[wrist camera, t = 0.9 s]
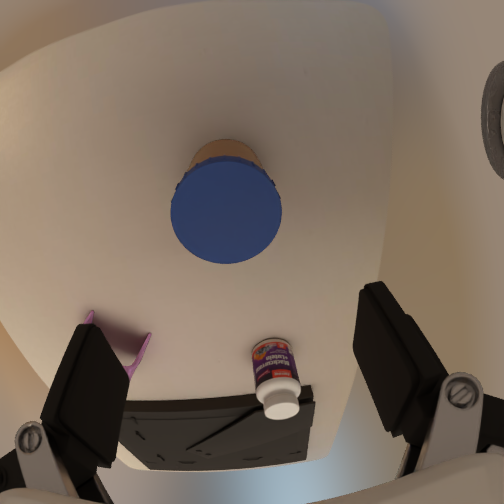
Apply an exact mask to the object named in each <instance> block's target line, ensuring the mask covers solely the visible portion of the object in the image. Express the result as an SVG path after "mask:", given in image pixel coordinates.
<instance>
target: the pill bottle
mask: <svg viewBox="0 0 504 504" xmlns="http://www.w3.org/2000/svg"><path fill="white" fill-rule="evenodd" d="M252 361H253V371H254V380H255V390H256V396H257V399H258V400H259V401H260V402H261V403H263V405H264V412H265V416H266V417H268V418H270V419H275V420H281V419H287V418H290V417H292V416H294V415H296V414H297V413H298V411H299V403H298V399H297V397H298V396H299V394H300V392H301V386H300V381H299V377H298V373H297V369H296V365H295V360H294V356H293V352H292V348H291V346H290V345H289V344H288V343H287V342H286V341H284V340H281V339H269V340H265V341H263V342H261V343H259V344H258V345H256V346H255V348H254V349H253V351H252Z"/></svg>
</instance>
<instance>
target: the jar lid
mask: <svg viewBox="0 0 504 504" xmlns="http://www.w3.org/2000/svg"><path fill="white" fill-rule="evenodd" d="M275 186H276V185H275V184H274V182H273V180H271V179H270V178H269V176H268V175H267V173H266V171H265V170H264V169H263V170H262V169H261V168H260V167H259V166H258V165H256V164H254V162H253V161H252V162H251V161H249V160H246V159H244V158H240V156H238V157H235V156H225V155H224V156H217V157H213V158H211V157H209V159H207V160H204V161H202V162H200V163H196V165H195V166H194V167H193V168H191V169H190V170H189V171H188V172H185V174H184V176H183V178H182V180H181V182H180V183H178V184H177V186H176V189H175V190H176V192H175V194H174V196H173V199H172V201H171V203H172V204H171V222H172V226H173V229H174V232H175V234H176V236H177V238H178V239H179V241H180V242H181V243H182V244H183V246H184V247H185V248H186V249H187V250H189V251H190V252H191V253H192V254H194V255H195V256H197V257H199V258H201V259H204V260H206V261H209V262H213V263H220V264H231V263H238V262H242V261H245V260H248V259H250V258H252V257H254V256H256V255H257V254H259V253H260V252H262V251H263V250H264V249H265V248H266V247H267V246H268V245H269V244H270V243H271V242H272V240H273V239H274V237H275V235H276V234H277V231H278V229H279V226H280V222H281V216H282V207H281V201H280V199H281V198H280V196H279V194H278V192H277V190H276V188H275Z"/></svg>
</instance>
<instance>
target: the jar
mask: <svg viewBox="0 0 504 504" xmlns="http://www.w3.org/2000/svg"><path fill="white" fill-rule="evenodd" d="M224 155H225V156H235V157H238V156H240V158H244V159H246V160H249V161H251V162H252V161H253V162H254V164H256V165H258V166H259V167H260V168H261V169H262V170H263V167H262V165H261V163H260V161H259V159H258V157H257V156H256V154H255V153H254V152H253V151H252V149H250V148H249V147H248V146H247V145H245V144H243V143H241V142H239V141H236V140H231V139H221V140H216V141H213V142H210V143H208V144H206V145H205V146H203V147H202V148H201V149H200V150H199V151H198V152H197V153H196V155H195V156H194V158H193V160H192V162H191V164H190V166H189V168H188V170H187V172H188V171H189V170H190V169H191V168H193V167H194V166H195V165H196V163H200V162H202V161H204V160H207V159H209V157H211V158H213V157H217V156H224Z"/></svg>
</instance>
